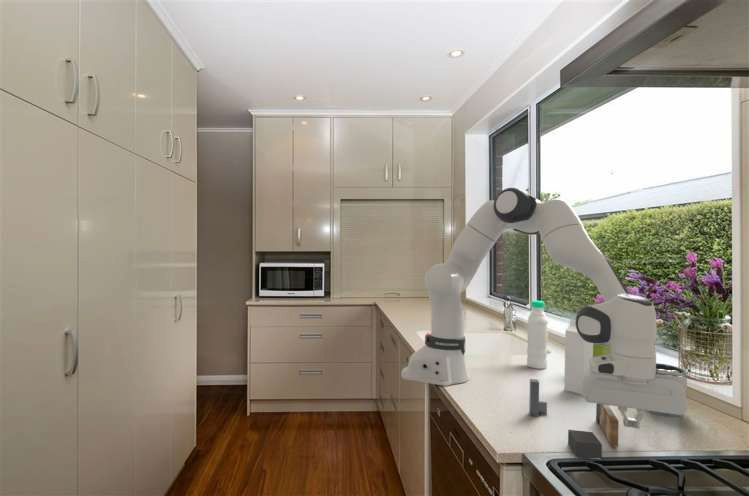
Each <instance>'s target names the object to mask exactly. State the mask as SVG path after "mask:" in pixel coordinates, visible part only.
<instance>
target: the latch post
mask: <svg viewBox="0 0 749 496" xmlns="http://www.w3.org/2000/svg"><path fill="white" fill-rule="evenodd" d="M528 405H529V408H528V409H529V413H528V414H529V416H530V417H536V418H537V417H539V414H540V415H548V402H547V401H542V400H540V381H539V379H537V378H536V379H533V378H529V404H528Z"/></svg>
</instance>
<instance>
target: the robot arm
mask: <svg viewBox="0 0 749 496" xmlns="http://www.w3.org/2000/svg"><path fill="white" fill-rule="evenodd" d="M508 229H513V231H515V232H518V233H522V234H526V235H531V236H533V235H540V236H541V239H542V242H543V244H544V248H545V250H546V252H547V254H548V255H549V257H550V258H551V260H553V261H554V262H555V263H556V264H558V265H560V266H562V267H564V268H568V269H571V270H573V271H576V272H579V273H580V274H582V275H584V276H586V277H587V278H588V279H590V280H591V281H592V282H593V284H594V285H595V287H596V288H597V290H598V292H599V294H600V295H601V297H602V298H603V300H604V301H603V302H599V303H595V304H591V305H585V306H582V307H581V308H580V309H579V310H578V311H577V314H576V315H575V316H576V317H575V320H576V321H575V323H576V329H577V332H578V333H579V335H580V336H581V337H582V339H584V340H585V341H587V342H589V343H594V344H609V345H610V346H611V354H609V355H603V356H598V357H592V358H590V359H589V366H590V368H589V369H588V370H587V371H586V373H585V376H584V380H583V388H582V397H583V399H584V400H585V401H586V402H587V403H592V404H596V403H597V404H604V405H609V406H610V407H611V406H612V407H617V408H618V410H619V412H620V414H621V416H622V417H623V426H624V428H625V427H626V428H633V429H638V430H639V429H640V428H641V421H643V420H644V418H645V417H646V415H647V411H648V412H650V411H655V412H662V413H670V414H677V415H681V416H683V415H685V414H686V413H687V412H688V405H687V404H688V403H687V397H686V396H687V395H686V392H685V391H686V390H687V388H688V379H687V377H685V376H684V375H683V374H681V373H679V372H678V371H673V370H672V371H669V370H664V369H656V363H657V353H656V350H655V349H656V348H655V343H656V341H657V336H658V335H657V332H658V328H657V326H658V325H657V312H656V309H655V305H654V304H653V301H651V300H650V299H648V298H645V297H643V296H640V295H636V294H630V292H629V291H628V288H627V287H626V286H625V283H624V282H623V281H622V280H621V278H620V276H619V274H618V272H616V270H615V268H614V266H613V264H612V262H611V261H610V260H609V259H608V258H607V257H606V255H604V253H603V252H602V251H601V249H599V248H598V247H597V246H596V245H595V243H594V242H593V240H592V239H591V238H590V236H589V235H588V233H587V231H586V229H585V227H584V225H583V223H582V221H581V218H579V216H578V214H577V212H576V211H575V209H574V208H573V207H572V206H571V204H570V203H569V202H568V201H566V200H565V199H563V198H552V199H548V200H547V201H544V202H541V200H540V199H538V198H537V197H536V196H534V195H532V194H530V193H528V192H527V191H525V190H523V189H521V188H516V187H507V188H504V189H502V190H501V191H500V192H499V193H497V195H496V197H495V198H494V200H492V199H491V200H488V201H486V202H484V203H483V204H482V205H481V206H480V207H479V208H478V209H477V210H476V211H475V212H474V214H473V215H472V217H470V219H469V220H468V221H467V223H466V224H465V226H464V227H463V229H462V230H461V232H460V233H459V235H458V236H457V238H456V239H455V241H454V243H453V246H452V249H451V251H450V253H449V255H448V257H447V259H446V261H445V262H440V263H436V264H434V265H433V266H431V267H430V268H429V269H428V270H427V271H426V273H425V274H424V285H425V288H426V290H427V292H428V298H429V304H430V312H431V324H430V325H431V327H430V328H431V329H430V330H431V331H430V332H431V333H428V332H427V333H426V334H425V335H424V346H422V347H420V348H419V349H418V350H416V351H415V352H413V353H412V354H411V356H410V358H409V360H408V363H407V366H406V367H404V368H403V369H402V370H401V374H400V376H401V378H402V379H403V380H407V381H414V382H420V383H427V384H432V385H438V386H443V387H444V386H446V387H447V386H450V385H451V386H452V385H454V384H456V385H457V384H462V383H466V382H468V380H469V377H468V373H467V368H466V361H465V353H466V337H465V312H464V309H463V303H462V298H461V293H463V292H464V291H465V290H467V289H468V287H469V286H470V283H471V282H472V280H473V279H474V276H475V275H476V274H477V271H478V269H479V267H480V266H481V265H482V262H483V261H484V259H485V258H486V257H487V255H488V254H489V252H490V251H491V250H492V248H493V247H494V245H495V243H496V242H497V241H498V239H499V238H500V237H501V235H502V234H503V233H504V232H505V231H506V230H508ZM679 375H681V376H679ZM628 409H634V410H635V411H637V414H636V415H635V417H629V416H627V415H626V413H627V412H628Z"/></svg>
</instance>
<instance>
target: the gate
mask: <svg viewBox="0 0 749 496" xmlns="http://www.w3.org/2000/svg"><path fill="white" fill-rule="evenodd" d="M599 422H600V426H601V429H602V431H603V432H604V435H605V437H606V439H607V441H608V443H609V445H610V447H617V448H618V447H619V430H620V429H619V426H620V425H619V424H620V423H619V419H618V418H617V416H616V415H615V413H614V411H613V410H612V408H611V405H604V404H600V421H599Z"/></svg>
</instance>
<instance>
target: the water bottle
mask: <svg viewBox="0 0 749 496" xmlns="http://www.w3.org/2000/svg"><path fill="white" fill-rule="evenodd" d="M530 305H531V310H532V311H531V312H530V314H529V315H528V317H527V323H528V324H527V349H526V350H527V351H526V353H527V357H526V365H527V367H529V368H531V369H535V370H545V369H546V368H547V366H548V361H547V358H548V357H547V356H548V350H547V348H548V322H549V320H548V318H547V316H546V313H545V311H544V309H545V307H546V303H545V301H543V300H532V301H531V303H530Z"/></svg>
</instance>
